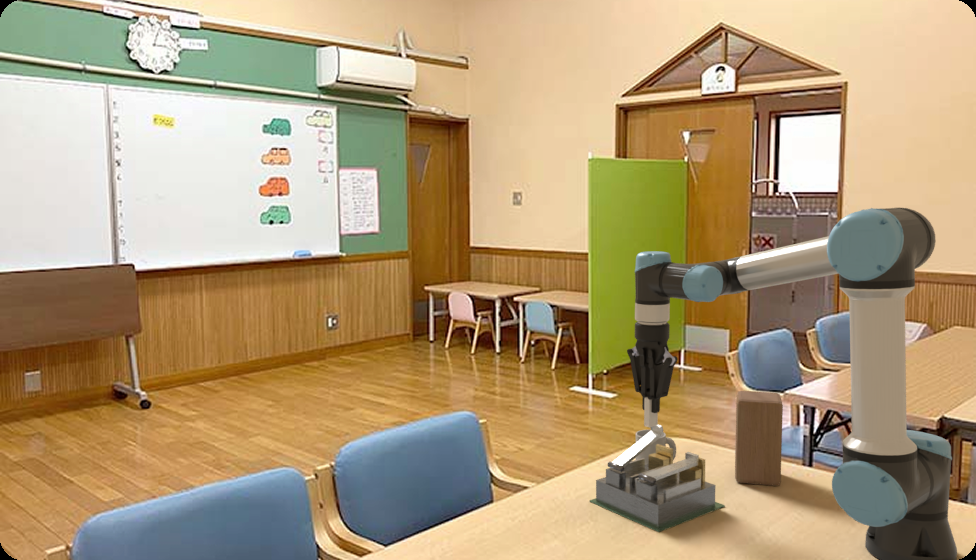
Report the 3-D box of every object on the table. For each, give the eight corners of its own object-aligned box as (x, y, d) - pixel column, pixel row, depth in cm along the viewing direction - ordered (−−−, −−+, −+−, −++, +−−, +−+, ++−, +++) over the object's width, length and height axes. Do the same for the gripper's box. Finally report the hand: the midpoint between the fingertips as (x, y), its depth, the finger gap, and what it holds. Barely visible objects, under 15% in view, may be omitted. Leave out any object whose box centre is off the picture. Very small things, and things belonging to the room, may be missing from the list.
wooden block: (735, 483, 184) (736, 399, 182) (734, 469, 194) (736, 389, 192) (780, 487, 181) (783, 402, 179) (778, 472, 191) (780, 391, 189)
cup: (632, 464, 198) (632, 430, 197) (672, 463, 199) (672, 428, 198) (639, 474, 191) (639, 439, 190) (680, 473, 191) (680, 437, 190)
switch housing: (724, 506, 171) (725, 460, 170) (658, 532, 159) (659, 483, 158) (654, 480, 187) (655, 438, 186) (589, 501, 175) (589, 456, 174)
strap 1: (700, 466, 171) (700, 455, 171) (651, 484, 162) (651, 473, 162) (686, 461, 174) (686, 451, 174) (638, 479, 165) (638, 468, 165)
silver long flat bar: (666, 435, 177) (663, 426, 176) (620, 472, 169) (618, 463, 169) (653, 431, 180) (651, 422, 179) (608, 468, 172) (605, 458, 172)
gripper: (686, 323, 171) (684, 429, 174) (641, 316, 182) (640, 415, 184) (663, 328, 167) (661, 436, 170) (618, 319, 177) (617, 421, 180)
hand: (650, 425), depth 177 cm, fingers closed
